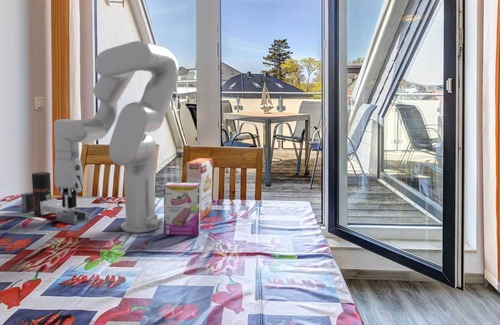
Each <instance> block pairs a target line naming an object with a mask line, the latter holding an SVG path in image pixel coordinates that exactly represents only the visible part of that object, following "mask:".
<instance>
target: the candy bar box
mask: <svg viewBox="0 0 500 325" xmlns="http://www.w3.org/2000/svg"><path fill="white" fill-rule="evenodd" d="M163 188H164V189H163V190H164V193H163V196H164V198H163V201H164V202H163V203H164V204H163V208H164V209H163V216H164V217H163V235H164V236H180V235H186V237H187V236H190V237H193V235H200V233H201V220H200V198H201V184H200V183H187V182H166V183H165V184H164V186H163Z"/></svg>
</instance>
